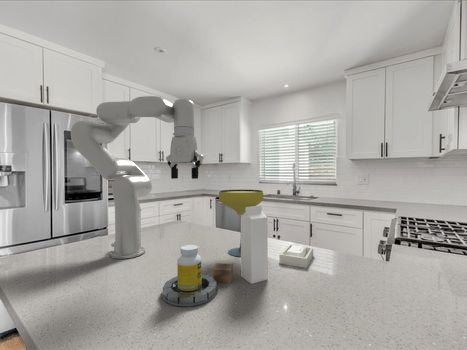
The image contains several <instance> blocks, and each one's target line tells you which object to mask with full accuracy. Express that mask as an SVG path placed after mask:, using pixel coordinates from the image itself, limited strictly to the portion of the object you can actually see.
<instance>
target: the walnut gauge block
mask: <svg viewBox="0 0 467 350" xmlns="http://www.w3.org/2000/svg"><path fill="white" fill-rule="evenodd" d="M233 266H234V265H233V263H222V262H221V263H217V262H216V265H215V266H214V268H213V278H214V279H215V280H216V284H231V283H232V280H233V276H234V273H233V272H234V267H233Z"/></svg>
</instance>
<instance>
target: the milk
mask: <svg viewBox="0 0 467 350" xmlns="http://www.w3.org/2000/svg"><path fill="white" fill-rule="evenodd" d="M262 209H263V207H262V205H256V206H253V207H246V212H245V213H244V214H243V215H242V216H240V240H241V257H240V277H241V278H243V279H244V280H246V281H247V282H248V283H249V284H251V285H253V284H257V283H260V282H264V281H267V280H268V279H269V267H268V265H269V260H268V259H269V258H268V257H269V253H268V252H269V251H268V249H269V248H268V245H269V244H268V243H269V242H268V237H269V236H268V233H269V232H268V227H269V226H268V216H267V215H266V214H265V212H264V211H263V210H262Z"/></svg>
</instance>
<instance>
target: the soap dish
mask: <svg viewBox="0 0 467 350" xmlns="http://www.w3.org/2000/svg"><path fill="white" fill-rule="evenodd" d="M293 245H294V244H288V245H287V247H285V248H284V249H283V250H282V251H281V252H280V253H279V264H282V265H287V266H294V267H299V268H306V269H307V268H308V266H309V264H310V262H311V261H312V259H313V258H314V247H310V246H301V245H300V246H301V247H305V248H306V254H305V256H304V257H296V256H290V255H286V252H287V251H288V250H289V249H290V248H291V247H292V246H293ZM294 246H297V245H294Z"/></svg>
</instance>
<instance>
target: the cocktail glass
mask: <svg viewBox="0 0 467 350" xmlns="http://www.w3.org/2000/svg"><path fill="white" fill-rule="evenodd" d="M264 196H265V195H264V191H263V190H261V189H224V190H219V192H218V200H219V202H220V203H222V205H224V206H226V207H228V208H230V209H232V210H234V211H235V212H236V214H238V216H240V217H241V216H242V215H243V214H244V213H245V212H246V207H253V206H259V205H260V204H261V203H262V202H263V201H264ZM227 252H228V254H229V255H230V256H233V257H238V258H241V239H240V243H239V247H234V248H231V249H229V250H228V251H227Z"/></svg>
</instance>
